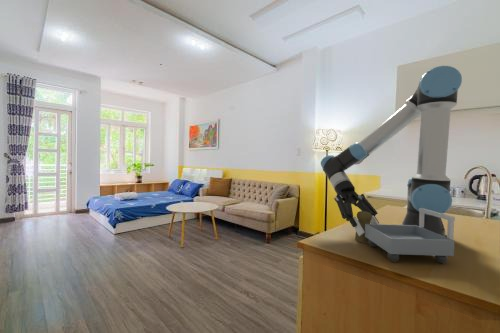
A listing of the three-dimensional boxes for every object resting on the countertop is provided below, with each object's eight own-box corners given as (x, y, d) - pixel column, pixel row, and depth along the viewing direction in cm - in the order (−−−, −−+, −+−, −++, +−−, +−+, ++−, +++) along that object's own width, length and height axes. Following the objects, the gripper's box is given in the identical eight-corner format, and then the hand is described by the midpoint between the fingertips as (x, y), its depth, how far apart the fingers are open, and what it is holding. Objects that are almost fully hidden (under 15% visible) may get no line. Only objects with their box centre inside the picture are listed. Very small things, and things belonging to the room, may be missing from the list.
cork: (374, 243, 85) (375, 213, 84) (356, 242, 86) (357, 212, 86) (369, 238, 91) (370, 210, 90) (353, 237, 92) (353, 209, 92)
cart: (418, 246, 83) (419, 207, 83) (457, 266, 67) (458, 218, 67) (364, 244, 83) (365, 205, 83) (390, 263, 67) (391, 216, 67)
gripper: (356, 190, 106) (386, 236, 91) (317, 191, 99) (342, 240, 84) (366, 179, 101) (399, 226, 86) (325, 179, 94) (354, 230, 79)
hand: (371, 233), depth 85 cm, fingers open, 8 cm apart
